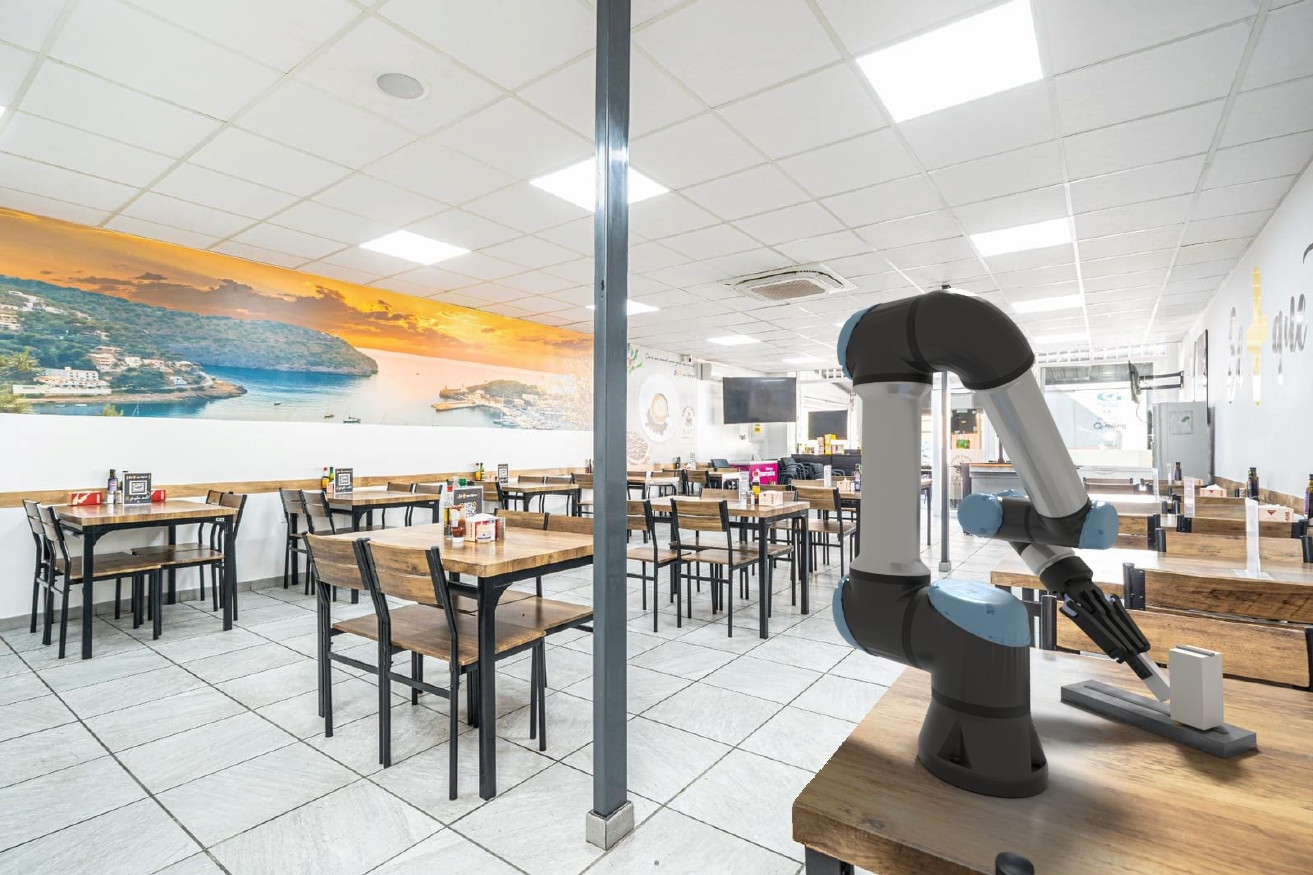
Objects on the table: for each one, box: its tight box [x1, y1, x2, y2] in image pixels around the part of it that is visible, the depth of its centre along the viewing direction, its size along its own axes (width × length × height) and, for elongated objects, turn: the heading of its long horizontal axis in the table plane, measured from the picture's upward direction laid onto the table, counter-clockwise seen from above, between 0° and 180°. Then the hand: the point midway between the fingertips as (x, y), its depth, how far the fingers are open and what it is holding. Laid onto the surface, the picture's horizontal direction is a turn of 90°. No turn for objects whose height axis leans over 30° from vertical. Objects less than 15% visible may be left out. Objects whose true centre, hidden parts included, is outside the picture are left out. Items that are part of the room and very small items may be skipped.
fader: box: [1168, 644, 1225, 730], centre depth 89 cm, size 4×5×10 cm
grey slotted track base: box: [1060, 679, 1258, 759], centre depth 94 cm, size 22×8×2 cm, turn 23°
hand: (1170, 697), depth 91 cm, fingers closed
